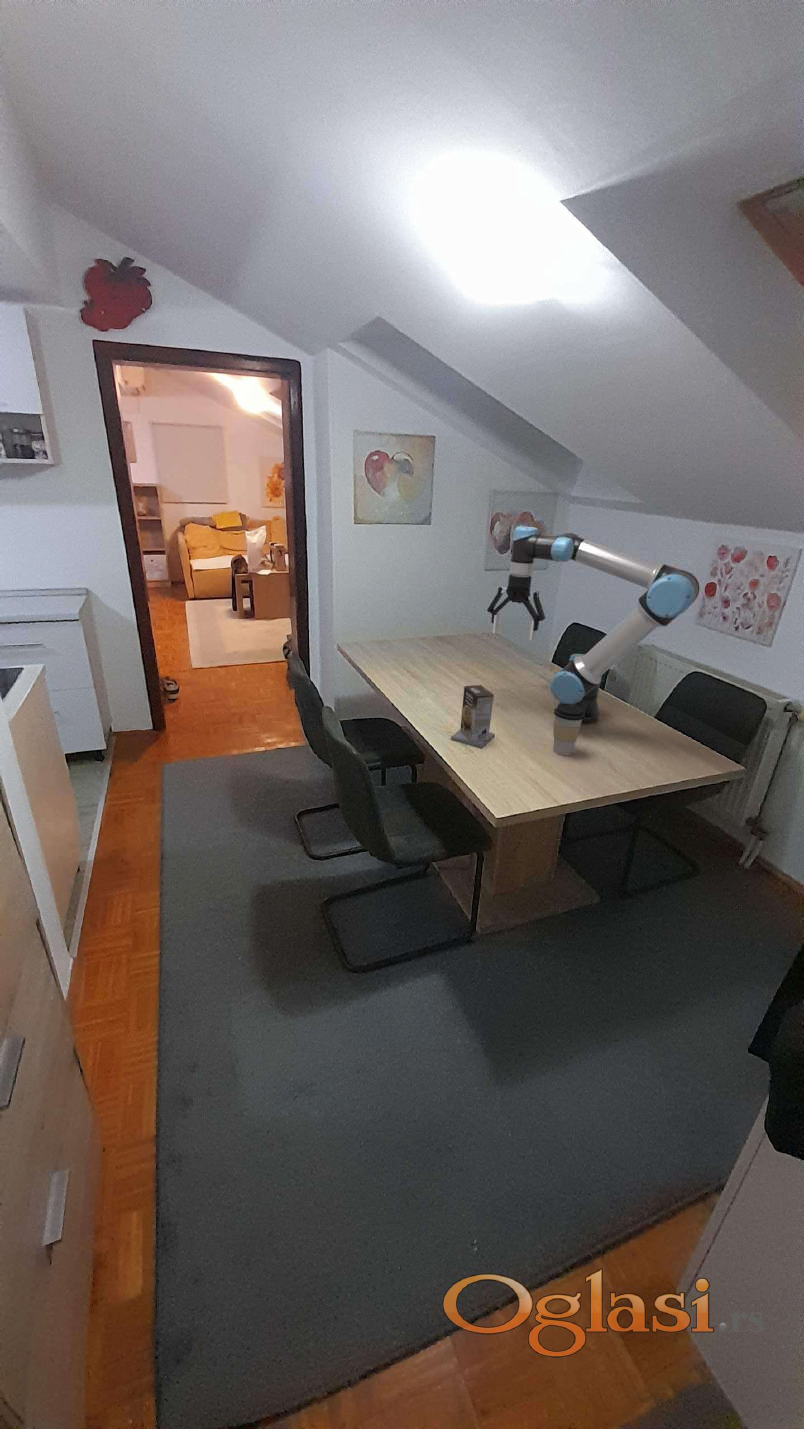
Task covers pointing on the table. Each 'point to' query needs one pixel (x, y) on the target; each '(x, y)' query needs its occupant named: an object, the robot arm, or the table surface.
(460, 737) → the tray
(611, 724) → the table surface
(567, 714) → the coffee cup
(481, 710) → the coffee box
